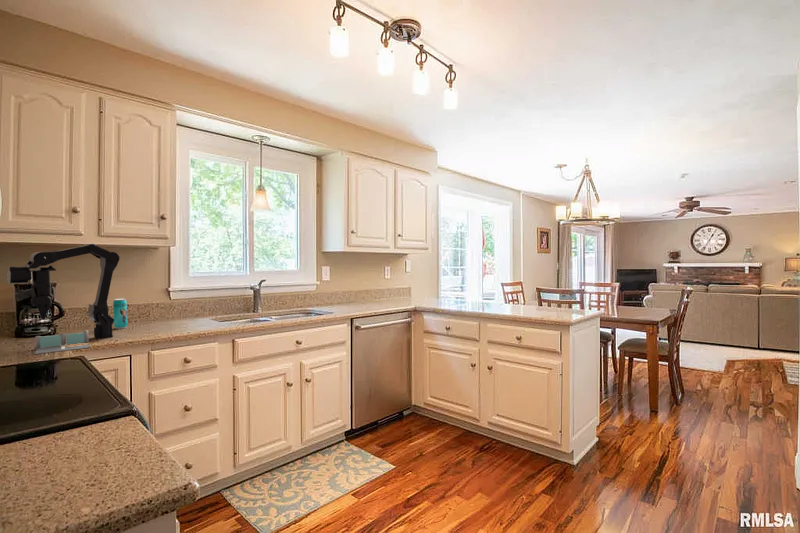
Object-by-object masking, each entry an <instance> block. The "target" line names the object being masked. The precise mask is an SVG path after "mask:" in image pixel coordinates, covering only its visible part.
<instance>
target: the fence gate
mask: <svg viewBox="0 0 800 533" xmlns="http://www.w3.org/2000/svg"><path fill="white" fill-rule="evenodd" d="M34 338H35V349H37V348H40V347H49V346H58V345H66V342H67V339H66V333H60V334H56V335H45V336H41V335H36V336H34Z"/></svg>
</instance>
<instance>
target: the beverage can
mask: <svg viewBox="0 0 800 533" xmlns="http://www.w3.org/2000/svg"><path fill="white" fill-rule="evenodd" d="M127 305H128V303H127V300H126V298H115V299H114V298H113V302H112V306H113V307H112V309H113V310H112V311H113V319H114V322H113V327H114V328H115V329H116V330H121V329H122V330H123V329H127V326H128V306H127Z"/></svg>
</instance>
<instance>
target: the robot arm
mask: <svg viewBox="0 0 800 533" xmlns="http://www.w3.org/2000/svg"><path fill="white" fill-rule="evenodd" d="M87 254H90V255H91V256H94V258H95V257H96V258H97V259H98V260H99V265H100V270H101V271H100V277H99V279H98V280H99V281H98V284H97V290H96V295H95V300H94V302H93V304H90V303H89V304H88V310H87V311H86V314H88V318H89V319H90V320H91V321H92V322H93V324H94V325H95V326H94V327H93V338H94V337H95V339H96V338H97V339H102V338H103V339H104V338H105V339H107V338H113V337H114V334H113V325H114V317H111V315H109V306H108V298H109V294H110V287H111V283H112V278H113V273H114V271H115V270H116V268H117V266H118V264H119V262H120V255H119V254H118V253H117V252H115V251H109V250H106V249H104V248H102V247H100V246H98V245H96V244H95V243H89V244H86V245H82V246H75V247H70V248H66V249H61V250H54V251H36V252H33V253H32V254H30V256H29V260H28V262H26V264H25V265H24V266H8V267H7V268H8V269H7V274H6V280H7V283H8V284H9V285H11V284H27V283H29V281H31V280H32V281H31V282H32V285H31V286H30V288H29V289H26V290H24V289H19V290H17V292H16V293H14V294H13V295H14V298H15V299H16V300H17V302H20V301H23V300H25V299H29V298H31V299H30V305H32V306H34V307H36V308H37V310H38V313H39V316H40V319H41V320H45V319H46V317H47V315H48V313H49V310H50V308H51V305H52V303H53V300H54V295H53V294H52V291H51V290H52V289H51V288H52V287H51V272H55V271H57V269H56V268H55V267H53V265H51V264H53V263H56V262H58V261H61V260H65V259H68V258H73V257H78V256H83V255H87Z"/></svg>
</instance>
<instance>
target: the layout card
mask: <svg viewBox="0 0 800 533" xmlns="http://www.w3.org/2000/svg"><path fill="white" fill-rule="evenodd" d="M66 343H67V341H66ZM89 348H90V343H89V344H87V345H82V346H75V347H66V345H58V346H49V347H40V348H35V351H34V355H42V354H50V353H56V352H58V353H59V352H67V351H77V350H82V349H84V350H85V349H89Z"/></svg>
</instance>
